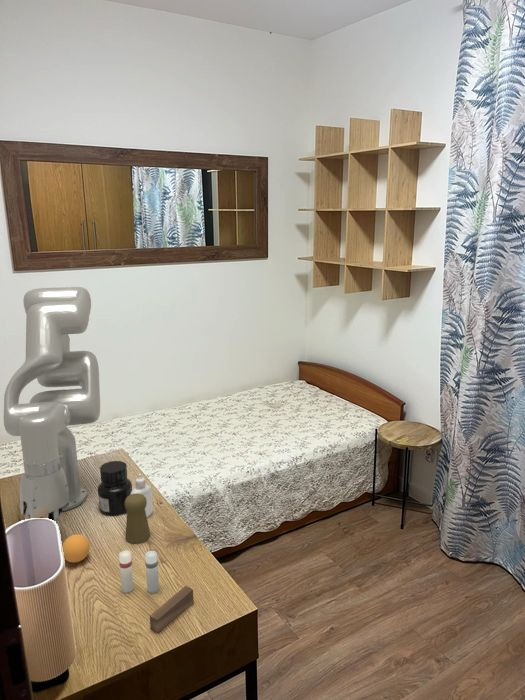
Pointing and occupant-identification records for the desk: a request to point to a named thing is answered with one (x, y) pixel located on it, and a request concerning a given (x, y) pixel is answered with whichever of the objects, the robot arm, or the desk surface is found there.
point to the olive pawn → (136, 519)
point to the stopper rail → (171, 609)
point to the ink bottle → (113, 488)
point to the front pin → (126, 571)
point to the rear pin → (152, 571)
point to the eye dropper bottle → (144, 493)
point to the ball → (75, 548)
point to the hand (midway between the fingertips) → (50, 537)
